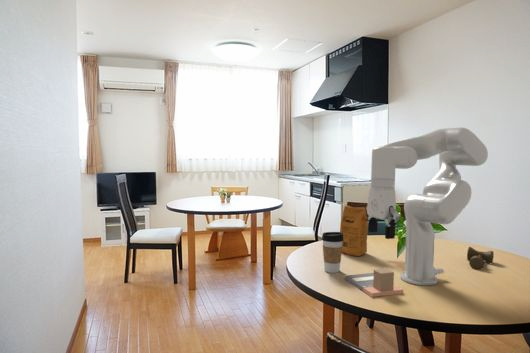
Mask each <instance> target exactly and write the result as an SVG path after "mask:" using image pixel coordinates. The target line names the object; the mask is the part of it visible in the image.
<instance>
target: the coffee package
mask: <svg viewBox="0 0 530 353" xmlns="http://www.w3.org/2000/svg"><path fill="white" fill-rule="evenodd" d="M342 211H343V212H342V217H341V222H340V225H339V226H340V228H339V232H341V233H343V238H344V239H343V241H342V254H347V256H354V257H360V256H362V255H364V254H366V253H368V242H367V240H368V233H369V232H368V226H369V221H368V215H367V210H366V207H356V206H355V207H353V206H350V205H346V204H345V205H344V208H343V210H342Z"/></svg>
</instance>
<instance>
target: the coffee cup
mask: <svg viewBox="0 0 530 353" xmlns="http://www.w3.org/2000/svg"><path fill="white" fill-rule="evenodd" d="M343 239H344V238H343V233H341V232H340V231H326V232H322V235H321V240H322V253H323V266H324V267H323V269H324V272H328V273H332V274H333V273H335V274H336V273H339V272H340V271H341V270H340V269H341V261H342V255H343V253H342V241H343Z"/></svg>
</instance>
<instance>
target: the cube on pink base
mask: <svg viewBox="0 0 530 353" xmlns="http://www.w3.org/2000/svg"><path fill="white" fill-rule="evenodd" d="M373 273H374V277H373V287H365V288H363V291H362V292H364V293H365V294H366V295H368V296H369V297H370V298H375V297H376V298H377V297H381V296H391V295H399V294H403V293H404V289H403V288H401V287H400V286H399V285H398V286H397V285H396V284H394V279H395V271H392V270H391V269H388V268H387V267H386V268H379V269H373Z"/></svg>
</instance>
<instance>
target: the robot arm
mask: <svg viewBox="0 0 530 353" xmlns="http://www.w3.org/2000/svg"><path fill="white" fill-rule="evenodd" d="M488 152H489V151H488V149H487V147H486V145H485V143H484V142H483V141H482V140H481V139H480V138H479V137H478V136H477V135H476V134H475V133H474V132H472V131H471V130H470V129H468V128H466V127H450V128H449V127H448V128H439V129H436V130H433V131H431V132H428V133H426V134H423V135H419V136H415V137H411V138H407V139H404V140H403V139H402V140H398V141H394V142H391V143H388V144H385V145H383V146H375V147H373V148H372V151H371V165H370V166H371V168H370V169H371V171H370V173H371V174H370V187H369V192H368V195H367V196H368V198H367V206H366V207H365V208H366V216H367V221H368V232H367V233H377V232H378V220H384V222H385V230H384V231H385V232H384V233H385V234H384V238H385V239H386V240H392V239H393V240H394V239H395V238H396V235H395V234H396V227H397V224H398V223H399V219H400V216H401V215H400V213H399V212H398V211H397V201H396V200H397V199H396V198H397V196H396V190H395V188H396V169H397V170H398V169H399V170H402V169H403V170H404V169H405V170H406V169H411V168H412V167H414V166H416V164H417V162H418V160H419V161H420V160H426V159H427V160H428V159H431V158H432V157H435V156H437V155H438V156H439V159H438V160H439V163H438V164H439V167H438V168H439V170H438V172H437V173H436V174H435V175H434V176H433V177H432V178H431V179H430V180H429V181H428V182H427V183H426V184H425V186H424V187H423V190H422V193H415V194H414V193H413V194H411V195H409V196H407V197H406V199H405V200H404V204H403V210H404V217H405V225H406V226H405V227H406V230H405V233H406V234H405V257H404V258H405V260H404V271H401V273H400V276H399V277H400V280H402V281H404V282H406V283H410V284H413V285H418V286H433V285H437V284H438V280H439V279H438V278H437V277H436V276H437V274H438V275H441V274H444V269H443V267H441V268H440V267H439V268H436V267H434V260H435V258H434V256H435V254H434V253H435V235H436V234H435V230H434V227H433V225H432V224H438V225H449V224H451V223H452V222H454V221H455V219H456V218H458V216H459V215H460V214H461V213H462V212H463V211H464V210H465V208H466V206H468V204H469V203H470V201H471V198H472V187H471V185H470V184H469V183H468V182H467V181H466V180H462V176H461V173H460V171H459V170H458V168H457V166H468V167H469V166H472V167H475V166H476V167H477V166H482V165H483V164H485V163H486V161H488V157H489V153H488Z"/></svg>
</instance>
